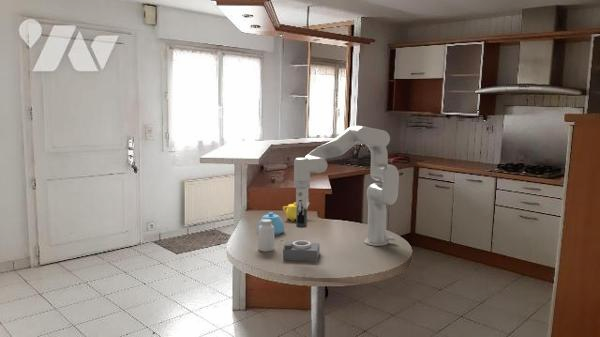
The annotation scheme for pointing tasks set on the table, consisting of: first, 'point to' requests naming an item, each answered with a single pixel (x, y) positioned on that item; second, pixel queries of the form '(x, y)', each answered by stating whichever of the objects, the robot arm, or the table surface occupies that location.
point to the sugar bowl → (274, 222)
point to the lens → (304, 219)
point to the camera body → (301, 251)
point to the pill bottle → (266, 235)
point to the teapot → (291, 211)
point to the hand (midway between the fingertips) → (301, 221)
